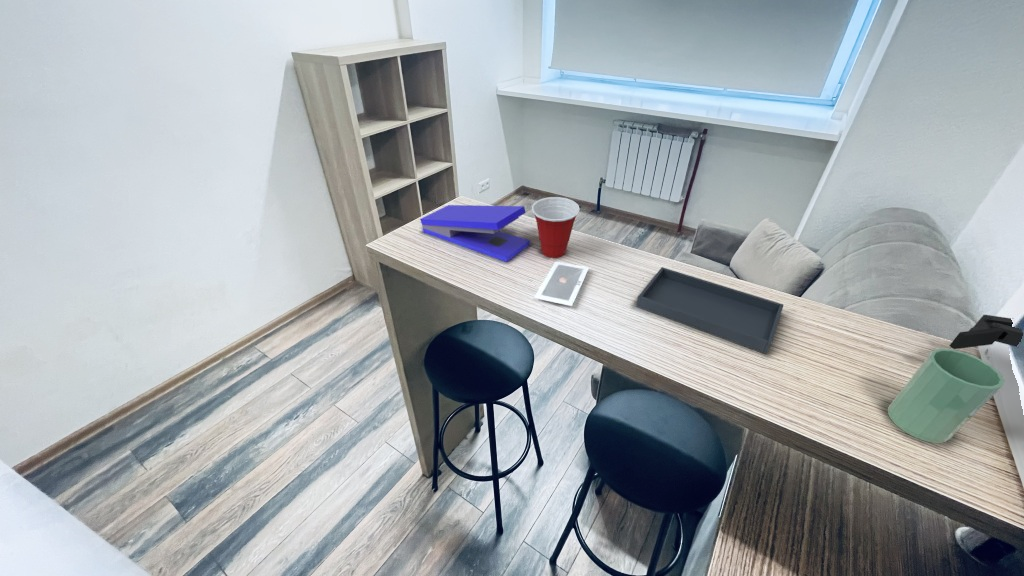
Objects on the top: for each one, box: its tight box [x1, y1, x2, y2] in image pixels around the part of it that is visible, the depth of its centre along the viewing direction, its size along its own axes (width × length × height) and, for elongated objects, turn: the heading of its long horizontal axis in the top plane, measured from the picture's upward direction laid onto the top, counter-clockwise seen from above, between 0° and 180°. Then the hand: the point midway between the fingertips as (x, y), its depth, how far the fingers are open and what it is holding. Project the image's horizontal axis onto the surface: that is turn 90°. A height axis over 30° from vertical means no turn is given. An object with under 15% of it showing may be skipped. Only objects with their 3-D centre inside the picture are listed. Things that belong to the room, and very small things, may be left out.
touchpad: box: [533, 260, 590, 307], centre depth 86 cm, size 8×15×2 cm, turn 158°
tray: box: [635, 266, 784, 355], centre depth 78 cm, size 23×13×2 cm, turn 54°
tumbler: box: [887, 348, 1005, 444], centre depth 55 cm, size 7×7×11 cm
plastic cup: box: [531, 196, 581, 259], centre depth 95 cm, size 11×11×12 cm
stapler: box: [420, 204, 531, 263], centre depth 102 cm, size 12×28×10 cm, turn 55°
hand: (1009, 375), depth 54 cm, fingers open, 13 cm apart
